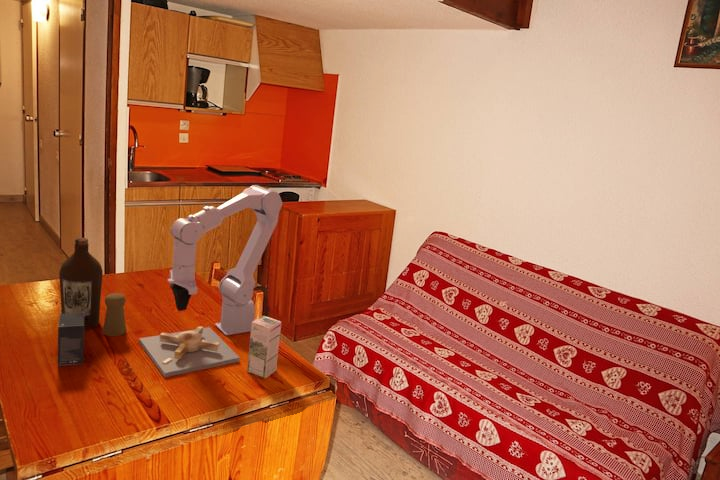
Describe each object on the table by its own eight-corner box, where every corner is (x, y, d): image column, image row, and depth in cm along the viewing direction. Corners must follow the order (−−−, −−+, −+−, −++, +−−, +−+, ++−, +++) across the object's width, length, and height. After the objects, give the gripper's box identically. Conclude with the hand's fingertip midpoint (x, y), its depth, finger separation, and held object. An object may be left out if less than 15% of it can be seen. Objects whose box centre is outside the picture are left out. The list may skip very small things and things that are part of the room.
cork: (117, 337, 146) (118, 300, 143) (97, 333, 147) (98, 296, 144) (130, 329, 152) (132, 293, 149) (111, 324, 153) (112, 289, 150)
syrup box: (276, 370, 142) (282, 320, 138) (264, 379, 136) (269, 327, 133) (259, 363, 144) (264, 314, 140) (245, 372, 138) (250, 321, 135)
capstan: (158, 341, 144) (158, 328, 143) (201, 333, 152) (202, 320, 151) (175, 361, 136) (176, 347, 134) (220, 352, 143) (221, 338, 142)
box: (83, 364, 131) (84, 325, 128) (57, 366, 129) (57, 326, 126) (84, 349, 138) (84, 311, 135) (59, 351, 135) (59, 313, 133)
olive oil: (65, 314, 155) (65, 232, 148) (105, 316, 157) (107, 235, 151) (54, 331, 145) (53, 243, 138) (96, 332, 147) (98, 246, 141)
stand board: (209, 330, 158) (209, 326, 158) (239, 361, 143) (239, 356, 143) (139, 342, 145) (139, 337, 145) (164, 377, 131) (164, 372, 130)
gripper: (159, 255, 146) (157, 301, 150) (179, 273, 136) (177, 322, 139) (184, 253, 151) (182, 298, 154) (206, 270, 140) (202, 318, 144)
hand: (181, 309), depth 147 cm, fingers closed
